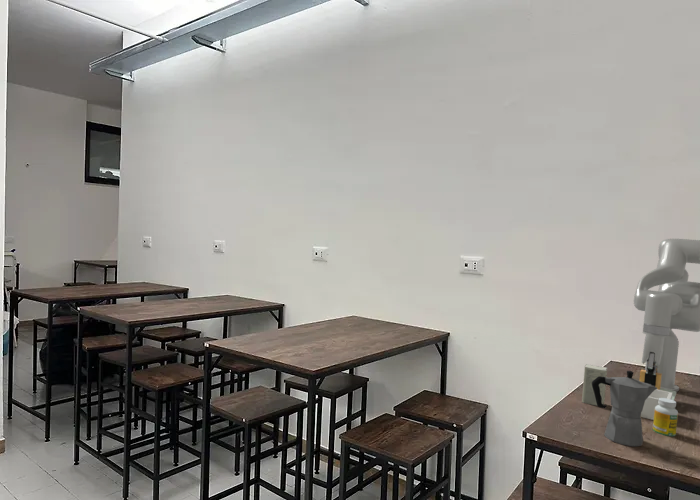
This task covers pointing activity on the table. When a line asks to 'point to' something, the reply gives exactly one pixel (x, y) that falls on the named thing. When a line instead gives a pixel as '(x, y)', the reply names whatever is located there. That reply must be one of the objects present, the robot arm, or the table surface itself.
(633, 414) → the coffeepot
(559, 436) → the table surface
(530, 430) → the table surface
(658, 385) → the lid
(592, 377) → the skincare box
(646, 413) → the tub
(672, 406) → the supplement bottle
